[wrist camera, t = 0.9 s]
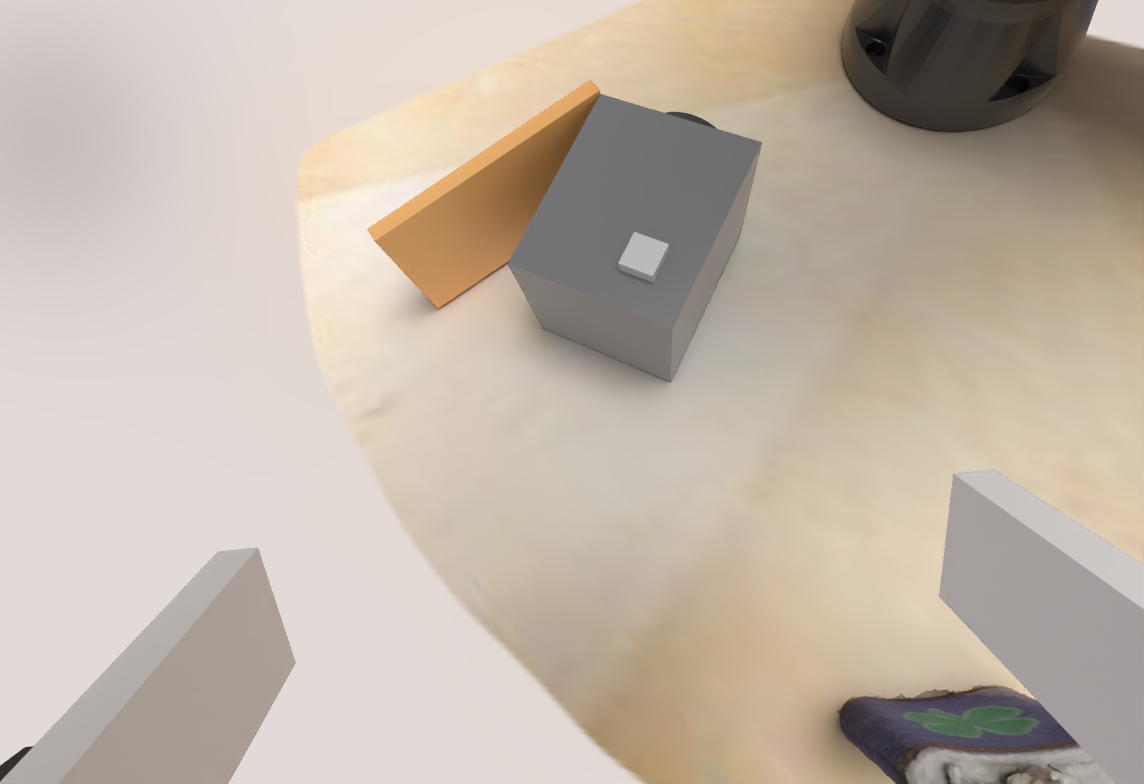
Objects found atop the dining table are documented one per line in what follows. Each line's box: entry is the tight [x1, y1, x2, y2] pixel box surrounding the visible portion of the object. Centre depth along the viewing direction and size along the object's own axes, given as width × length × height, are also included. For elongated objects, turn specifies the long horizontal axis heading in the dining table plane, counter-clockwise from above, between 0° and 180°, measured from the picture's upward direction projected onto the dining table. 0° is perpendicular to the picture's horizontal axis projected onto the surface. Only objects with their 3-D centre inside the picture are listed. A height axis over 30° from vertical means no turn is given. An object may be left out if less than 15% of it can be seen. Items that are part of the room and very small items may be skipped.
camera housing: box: [508, 94, 762, 382], centre depth 37 cm, size 14×10×11 cm
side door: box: [367, 80, 600, 308], centre depth 39 cm, size 16×2×10 cm, turn 123°
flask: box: [837, 686, 1116, 784], centre depth 27 cm, size 10×3×12 cm, turn 96°
